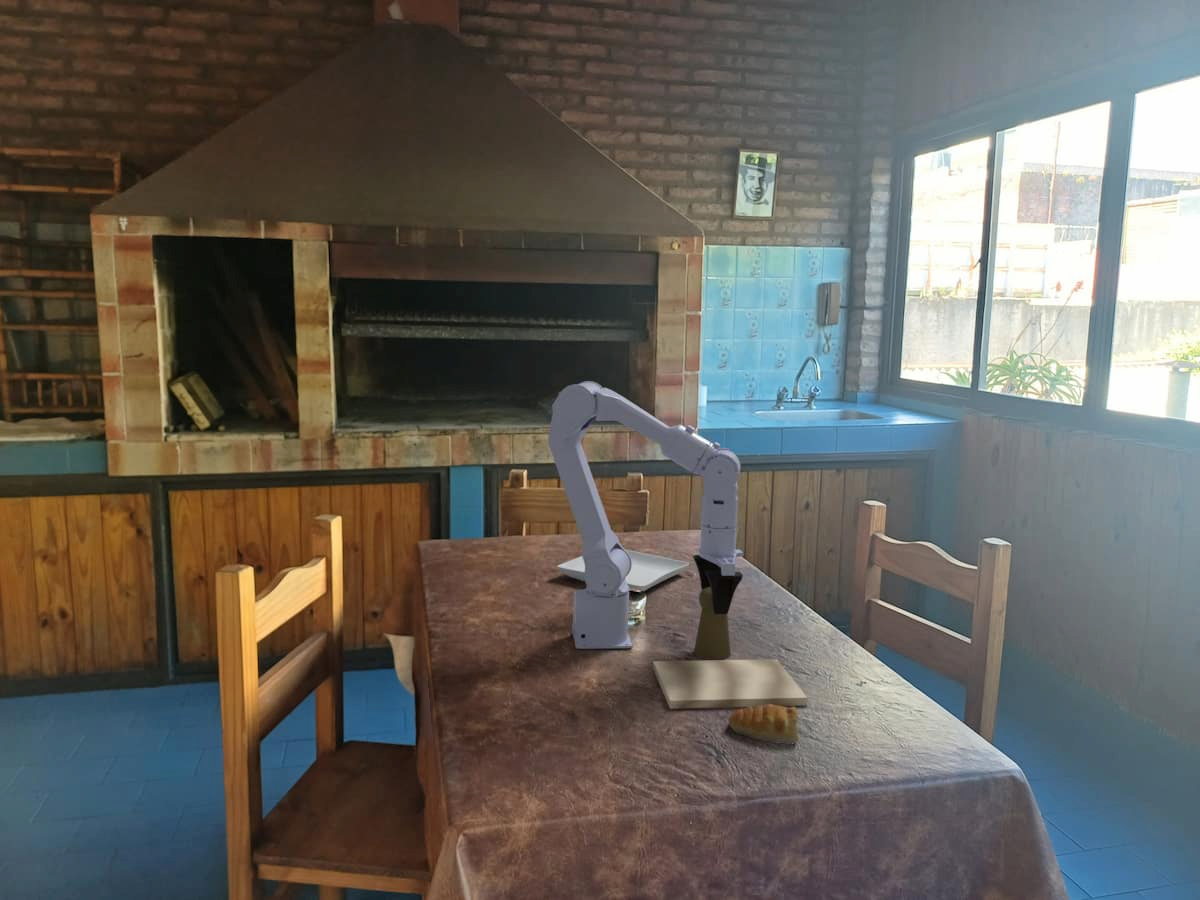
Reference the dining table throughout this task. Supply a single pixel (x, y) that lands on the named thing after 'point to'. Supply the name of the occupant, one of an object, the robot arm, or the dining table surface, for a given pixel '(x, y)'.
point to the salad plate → (634, 569)
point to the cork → (712, 631)
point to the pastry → (767, 723)
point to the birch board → (727, 684)
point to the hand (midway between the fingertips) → (715, 605)
